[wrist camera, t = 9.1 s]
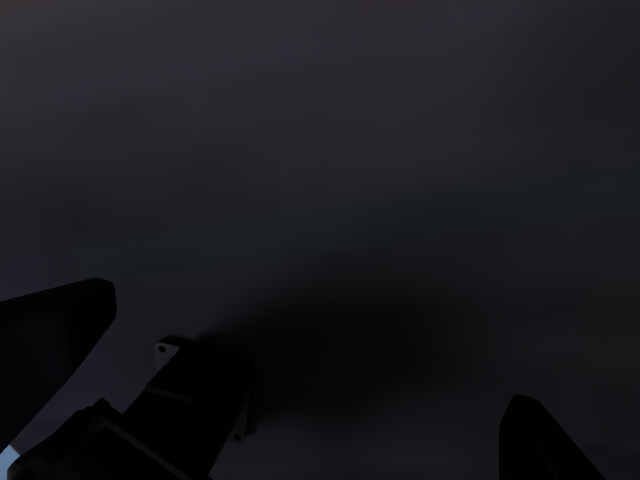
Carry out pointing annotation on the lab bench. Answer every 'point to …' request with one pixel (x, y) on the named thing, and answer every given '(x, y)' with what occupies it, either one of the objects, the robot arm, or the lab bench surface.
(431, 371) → the lab bench surface
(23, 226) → the lab bench surface
